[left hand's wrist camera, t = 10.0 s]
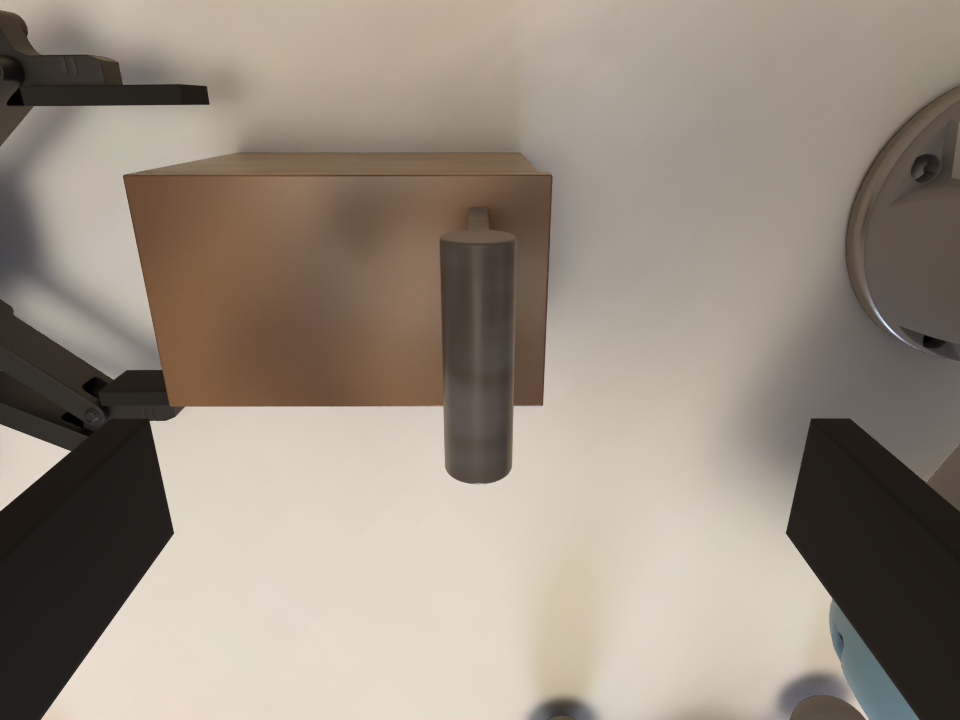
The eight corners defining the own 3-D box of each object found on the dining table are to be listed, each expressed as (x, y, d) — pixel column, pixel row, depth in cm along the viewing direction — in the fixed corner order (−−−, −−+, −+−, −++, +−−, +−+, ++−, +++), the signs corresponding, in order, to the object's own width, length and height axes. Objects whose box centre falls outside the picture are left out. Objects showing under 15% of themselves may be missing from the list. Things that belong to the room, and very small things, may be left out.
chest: (521, 152, 33) (538, 171, 24) (517, 319, 37) (531, 396, 27) (235, 152, 33) (136, 172, 24) (258, 319, 37) (179, 396, 27)
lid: (549, 172, 24) (584, 204, 16) (540, 396, 27) (565, 512, 19) (135, 172, 24) (-33, 204, 16) (179, 397, 27) (59, 513, 19)
